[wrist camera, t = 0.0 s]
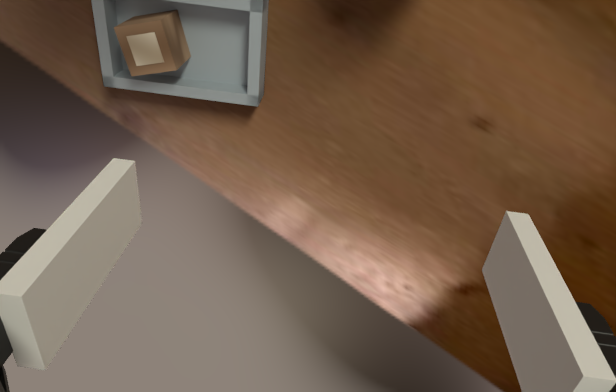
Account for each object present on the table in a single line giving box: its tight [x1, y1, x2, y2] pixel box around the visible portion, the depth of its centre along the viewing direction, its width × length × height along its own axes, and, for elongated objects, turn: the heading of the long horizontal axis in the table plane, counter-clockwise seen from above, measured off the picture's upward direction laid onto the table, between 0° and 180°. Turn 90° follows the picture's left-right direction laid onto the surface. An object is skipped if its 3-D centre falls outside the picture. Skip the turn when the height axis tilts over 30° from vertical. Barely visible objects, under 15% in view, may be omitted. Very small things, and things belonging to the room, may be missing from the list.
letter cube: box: [114, 10, 191, 76], centre depth 39 cm, size 4×4×4 cm
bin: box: [91, 0, 269, 107], centre depth 40 cm, size 9×14×3 cm, turn 84°
